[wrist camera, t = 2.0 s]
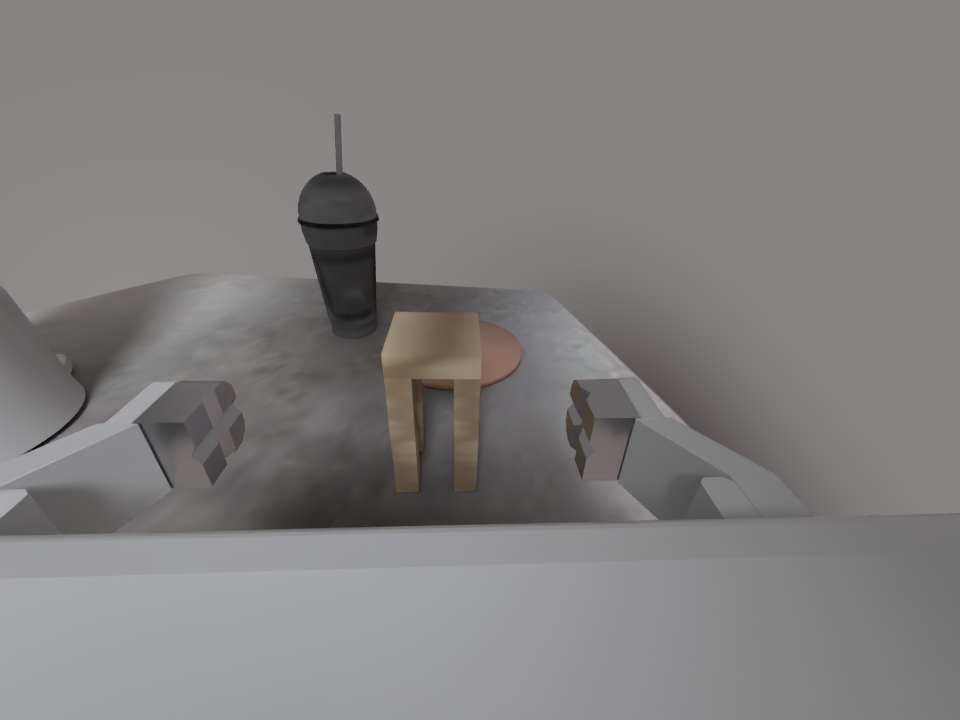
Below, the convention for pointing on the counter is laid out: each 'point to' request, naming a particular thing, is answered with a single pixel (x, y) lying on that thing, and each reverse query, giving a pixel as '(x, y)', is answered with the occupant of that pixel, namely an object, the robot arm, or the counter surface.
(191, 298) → the counter surface
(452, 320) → the stool
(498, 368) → the coaster
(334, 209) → the beverage cup
